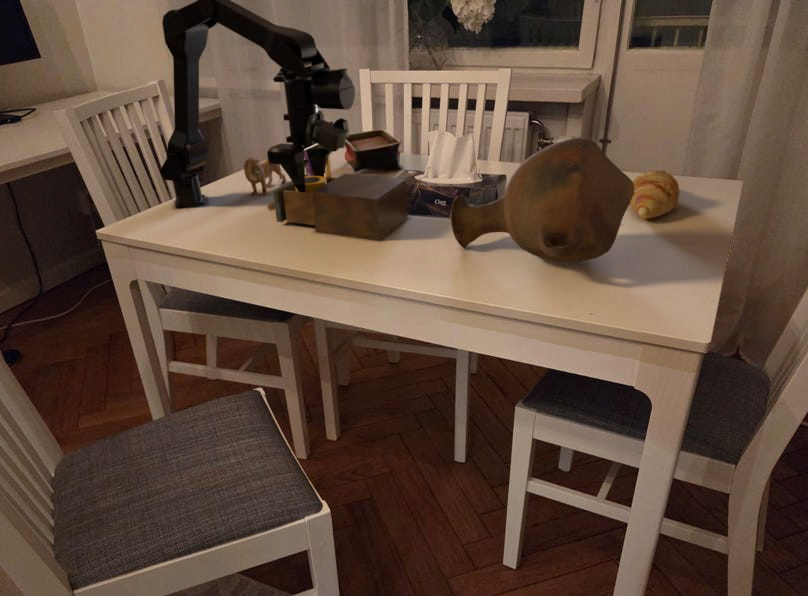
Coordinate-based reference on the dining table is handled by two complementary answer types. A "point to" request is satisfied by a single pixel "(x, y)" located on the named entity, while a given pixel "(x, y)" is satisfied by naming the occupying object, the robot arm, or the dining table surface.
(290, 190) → the drawer
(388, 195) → the cabinet
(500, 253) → the dining table surface
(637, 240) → the dining table surface
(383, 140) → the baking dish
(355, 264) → the dining table surface
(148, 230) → the dining table surface
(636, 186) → the croissant
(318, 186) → the tape roll
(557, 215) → the jug
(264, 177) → the lion figurine
